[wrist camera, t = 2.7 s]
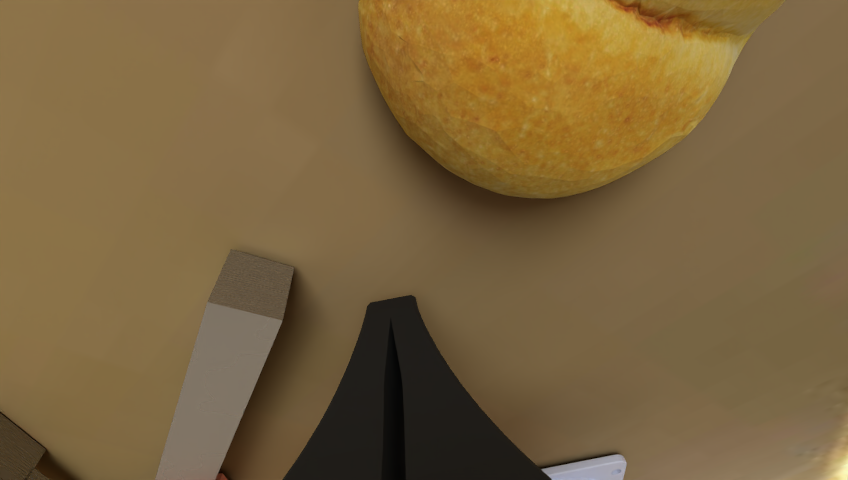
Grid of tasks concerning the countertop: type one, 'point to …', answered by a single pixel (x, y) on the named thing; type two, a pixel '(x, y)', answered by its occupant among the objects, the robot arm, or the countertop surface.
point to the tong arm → (225, 364)
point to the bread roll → (552, 82)
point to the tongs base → (18, 453)
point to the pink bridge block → (221, 477)
